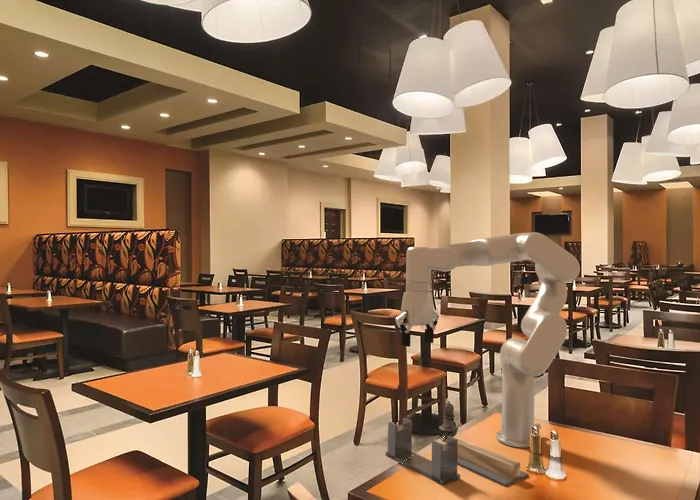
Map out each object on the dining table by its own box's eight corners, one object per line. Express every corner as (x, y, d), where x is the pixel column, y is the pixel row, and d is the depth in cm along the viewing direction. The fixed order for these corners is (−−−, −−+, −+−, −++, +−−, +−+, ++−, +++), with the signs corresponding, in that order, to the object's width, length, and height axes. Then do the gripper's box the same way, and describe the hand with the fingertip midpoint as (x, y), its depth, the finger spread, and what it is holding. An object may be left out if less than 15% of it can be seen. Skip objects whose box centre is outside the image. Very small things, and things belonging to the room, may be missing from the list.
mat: (460, 447, 150) (460, 445, 150) (528, 476, 132) (528, 473, 132) (437, 455, 144) (437, 453, 144) (505, 486, 126) (505, 484, 126)
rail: (454, 448, 148) (454, 436, 148) (520, 476, 130) (520, 462, 130) (446, 451, 145) (446, 438, 145) (511, 480, 128) (511, 465, 128)
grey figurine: (458, 443, 153) (458, 404, 153) (438, 442, 154) (439, 402, 154) (458, 436, 159) (458, 398, 159) (439, 435, 160) (439, 397, 160)
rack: (401, 450, 147) (402, 416, 147) (460, 478, 130) (460, 440, 130) (385, 455, 143) (385, 421, 143) (443, 485, 126) (443, 446, 126)
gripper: (429, 285, 160) (428, 339, 160) (388, 287, 150) (387, 345, 150) (447, 287, 154) (446, 343, 154) (406, 289, 144) (405, 349, 144)
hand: (417, 344), depth 152 cm, fingers open, 9 cm apart
